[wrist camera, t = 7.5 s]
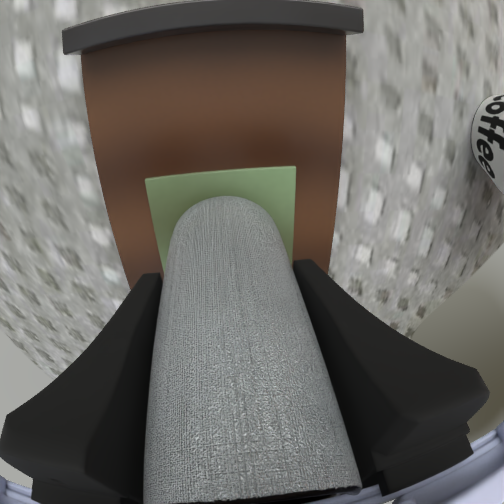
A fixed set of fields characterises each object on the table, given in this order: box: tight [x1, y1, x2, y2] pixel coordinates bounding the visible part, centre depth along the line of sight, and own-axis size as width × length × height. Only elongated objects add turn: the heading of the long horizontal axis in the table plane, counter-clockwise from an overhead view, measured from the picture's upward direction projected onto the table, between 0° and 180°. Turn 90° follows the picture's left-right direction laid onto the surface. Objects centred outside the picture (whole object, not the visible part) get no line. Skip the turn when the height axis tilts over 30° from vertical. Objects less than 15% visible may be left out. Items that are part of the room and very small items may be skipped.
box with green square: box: [62, 0, 364, 290], centre depth 12 cm, size 13×10×4 cm
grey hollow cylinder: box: [143, 196, 362, 504], centre depth 9 cm, size 4×4×10 cm
